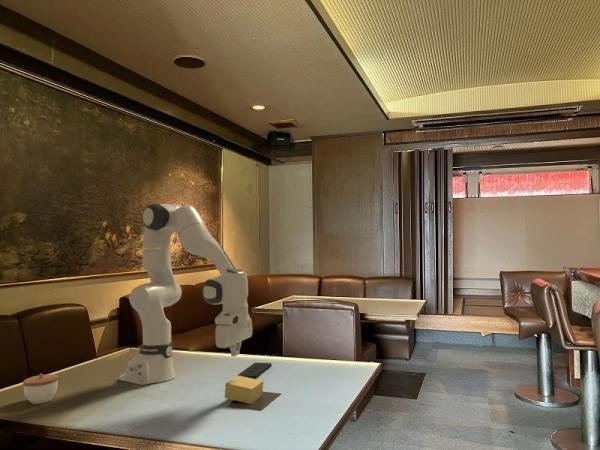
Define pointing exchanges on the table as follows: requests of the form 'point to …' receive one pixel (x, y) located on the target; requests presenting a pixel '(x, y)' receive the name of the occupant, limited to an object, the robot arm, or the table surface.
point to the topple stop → (255, 402)
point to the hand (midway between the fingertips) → (235, 355)
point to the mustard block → (244, 389)
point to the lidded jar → (40, 388)
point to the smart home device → (255, 370)
